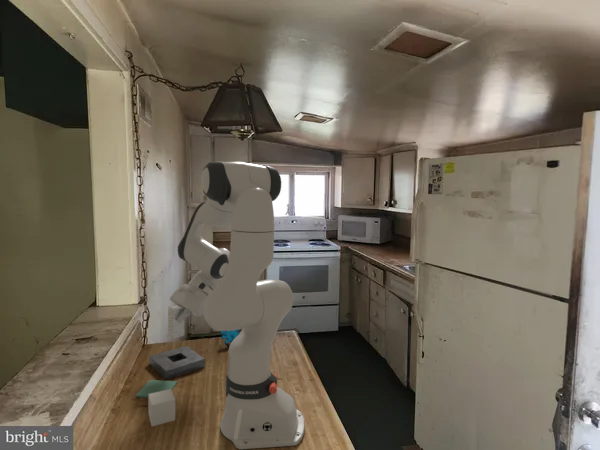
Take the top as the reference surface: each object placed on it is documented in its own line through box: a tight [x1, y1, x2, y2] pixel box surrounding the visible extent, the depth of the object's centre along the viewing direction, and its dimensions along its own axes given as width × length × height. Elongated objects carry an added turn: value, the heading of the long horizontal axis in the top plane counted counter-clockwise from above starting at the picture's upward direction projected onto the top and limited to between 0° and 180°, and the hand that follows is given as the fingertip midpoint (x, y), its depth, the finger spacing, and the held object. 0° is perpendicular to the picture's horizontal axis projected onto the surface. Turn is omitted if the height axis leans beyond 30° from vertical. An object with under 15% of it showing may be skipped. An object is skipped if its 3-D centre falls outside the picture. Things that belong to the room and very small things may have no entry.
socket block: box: [149, 345, 206, 381], centre depth 127 cm, size 14×14×3 cm
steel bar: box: [167, 304, 185, 339], centre depth 124 cm, size 4×4×10 cm
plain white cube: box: [147, 389, 176, 427], centre depth 98 cm, size 6×6×6 cm
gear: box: [220, 329, 240, 347], centre depth 148 cm, size 11×6×10 cm
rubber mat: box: [135, 379, 178, 399], centre depth 111 cm, size 9×9×1 cm
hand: (174, 319), depth 123 cm, fingers closed on steel bar, 4 cm apart
